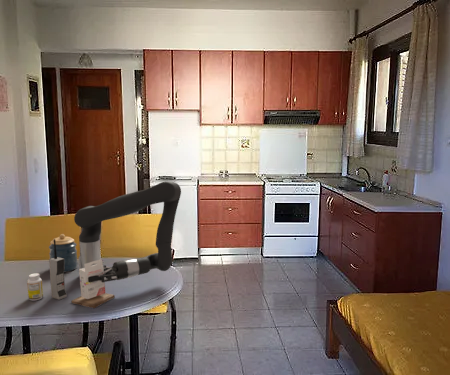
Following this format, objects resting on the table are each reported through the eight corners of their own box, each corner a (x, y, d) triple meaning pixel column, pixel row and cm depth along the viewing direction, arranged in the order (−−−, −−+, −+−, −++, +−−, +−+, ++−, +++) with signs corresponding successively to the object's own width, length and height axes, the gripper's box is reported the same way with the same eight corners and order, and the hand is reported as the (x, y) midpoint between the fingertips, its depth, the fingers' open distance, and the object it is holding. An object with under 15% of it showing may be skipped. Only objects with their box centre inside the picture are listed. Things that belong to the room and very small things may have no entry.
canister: (82, 265, 221) (81, 231, 219) (68, 273, 209) (66, 238, 206) (60, 263, 224) (58, 230, 222) (44, 271, 212) (42, 236, 209)
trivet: (71, 302, 174) (71, 300, 174) (92, 292, 185) (92, 290, 184) (94, 308, 169) (93, 305, 168) (114, 297, 179) (114, 294, 179)
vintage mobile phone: (59, 300, 177) (55, 241, 173) (51, 297, 179) (47, 239, 176) (66, 297, 180) (63, 239, 176) (59, 294, 183) (55, 237, 179)
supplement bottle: (36, 295, 182) (34, 271, 181) (46, 297, 180) (44, 273, 179) (25, 299, 177) (23, 276, 176) (35, 302, 175) (33, 277, 174)
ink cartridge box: (99, 290, 181) (96, 256, 179) (105, 293, 178) (103, 258, 176) (80, 296, 175) (77, 261, 173) (87, 299, 172) (84, 264, 169)
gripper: (119, 256, 188) (80, 263, 179) (131, 265, 176) (90, 273, 167) (120, 272, 189) (81, 281, 180) (132, 282, 178) (91, 291, 168)
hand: (86, 277), depth 174 cm, fingers closed on ink cartridge box, 6 cm apart
